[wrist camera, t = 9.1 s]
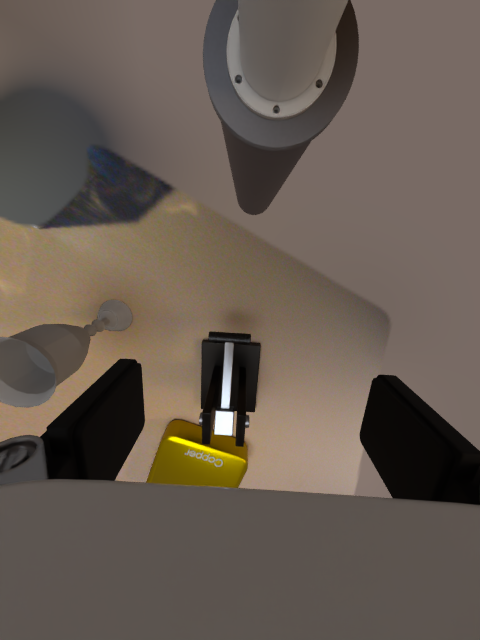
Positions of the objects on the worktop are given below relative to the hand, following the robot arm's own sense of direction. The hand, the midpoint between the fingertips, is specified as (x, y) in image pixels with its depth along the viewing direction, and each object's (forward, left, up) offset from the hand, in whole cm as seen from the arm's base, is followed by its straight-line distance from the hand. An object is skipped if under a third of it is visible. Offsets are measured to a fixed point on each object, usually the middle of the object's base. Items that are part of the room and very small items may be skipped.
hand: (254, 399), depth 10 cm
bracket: (+15, -2, -28) cm, 32 cm away
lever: (+11, -2, -20) cm, 23 cm away
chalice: (+6, -20, -28) cm, 35 cm away
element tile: (+33, -7, -28) cm, 44 cm away
